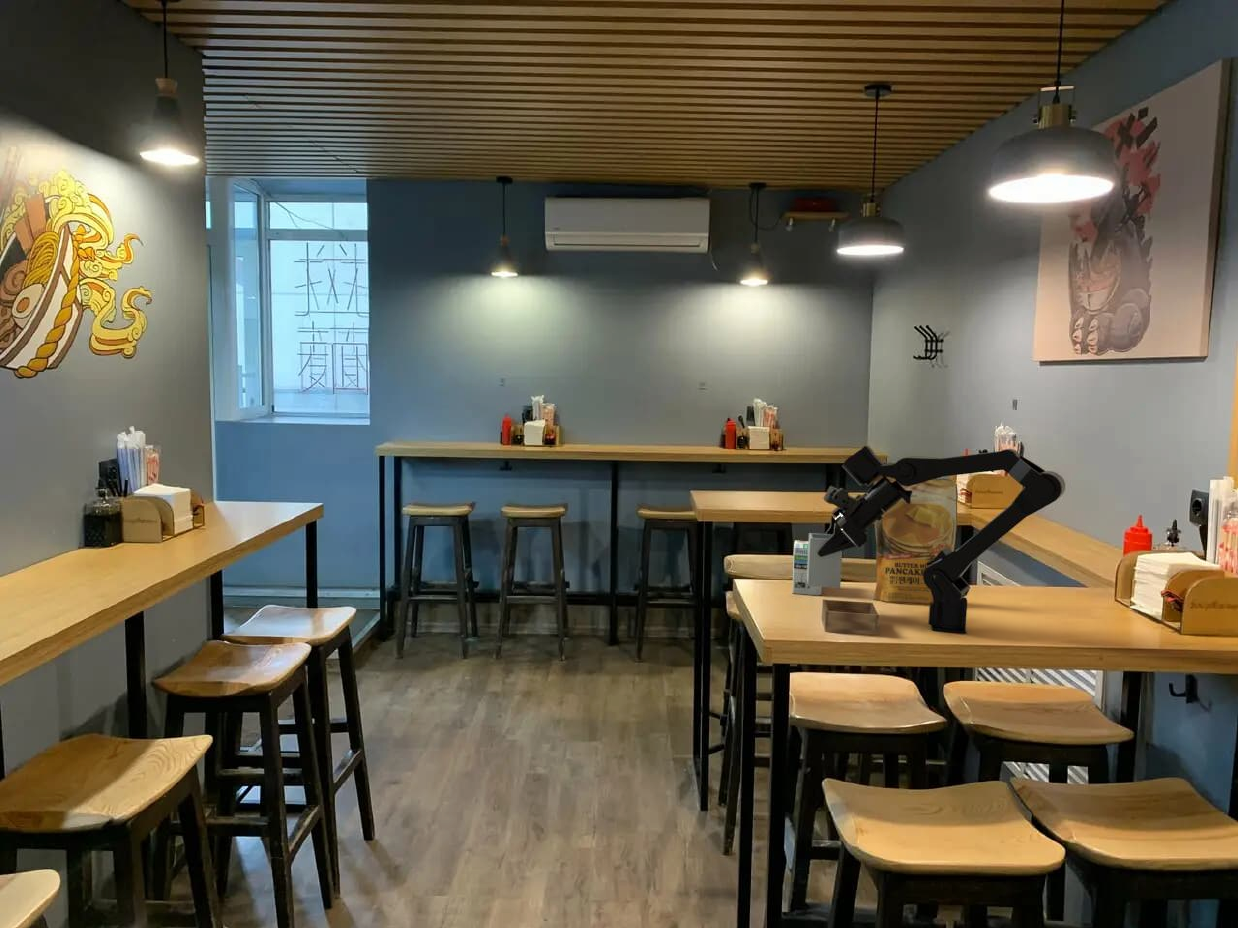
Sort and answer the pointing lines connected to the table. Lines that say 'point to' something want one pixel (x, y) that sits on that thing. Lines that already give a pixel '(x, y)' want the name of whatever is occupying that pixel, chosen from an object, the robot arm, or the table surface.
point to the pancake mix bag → (914, 540)
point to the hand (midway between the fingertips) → (817, 551)
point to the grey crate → (822, 563)
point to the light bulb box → (802, 570)
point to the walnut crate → (849, 617)
